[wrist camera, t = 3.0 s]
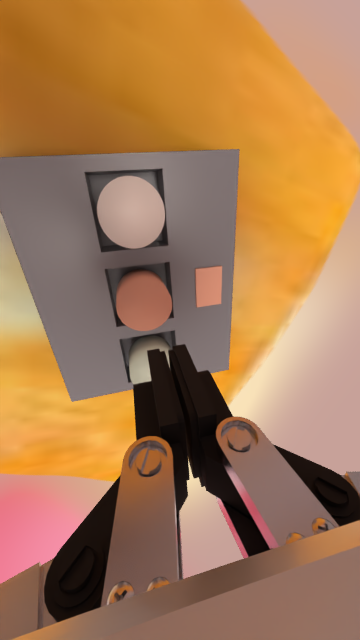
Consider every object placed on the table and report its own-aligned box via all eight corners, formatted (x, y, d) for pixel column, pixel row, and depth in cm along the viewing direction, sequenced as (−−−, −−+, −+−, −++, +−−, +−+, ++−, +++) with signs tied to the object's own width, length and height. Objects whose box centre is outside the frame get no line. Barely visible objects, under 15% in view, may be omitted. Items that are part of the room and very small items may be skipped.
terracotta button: (112, 272, 17) (111, 284, 14) (163, 266, 17) (169, 276, 15) (120, 318, 18) (121, 335, 16) (167, 311, 19) (173, 326, 17)
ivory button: (94, 180, 14) (89, 177, 12) (155, 177, 15) (161, 174, 12) (106, 244, 16) (104, 251, 13) (160, 238, 16) (167, 245, 14)
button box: (5, 164, 15) (-22, 157, 12) (220, 156, 17) (240, 148, 14) (77, 378, 23) (71, 403, 20) (217, 351, 25) (229, 370, 22)
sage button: (125, 339, 19) (126, 357, 17) (169, 332, 20) (175, 348, 18) (131, 374, 21) (133, 395, 19) (172, 366, 21) (178, 385, 19)
